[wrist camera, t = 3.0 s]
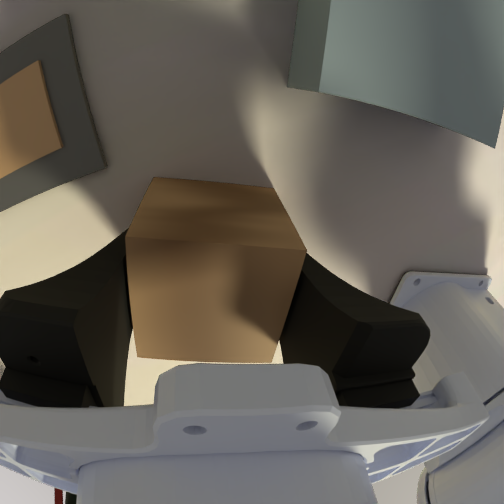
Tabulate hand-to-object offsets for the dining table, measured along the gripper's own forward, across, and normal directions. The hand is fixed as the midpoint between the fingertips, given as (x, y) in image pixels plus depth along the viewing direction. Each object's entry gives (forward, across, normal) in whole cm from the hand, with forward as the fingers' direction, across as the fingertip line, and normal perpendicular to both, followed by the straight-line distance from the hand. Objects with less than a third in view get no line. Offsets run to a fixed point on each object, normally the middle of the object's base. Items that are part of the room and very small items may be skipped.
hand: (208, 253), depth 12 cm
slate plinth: (+2, -6, -11) cm, 13 cm away
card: (+1, +9, -5) cm, 10 cm away
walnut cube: (+2, 0, 0) cm, 2 cm away
